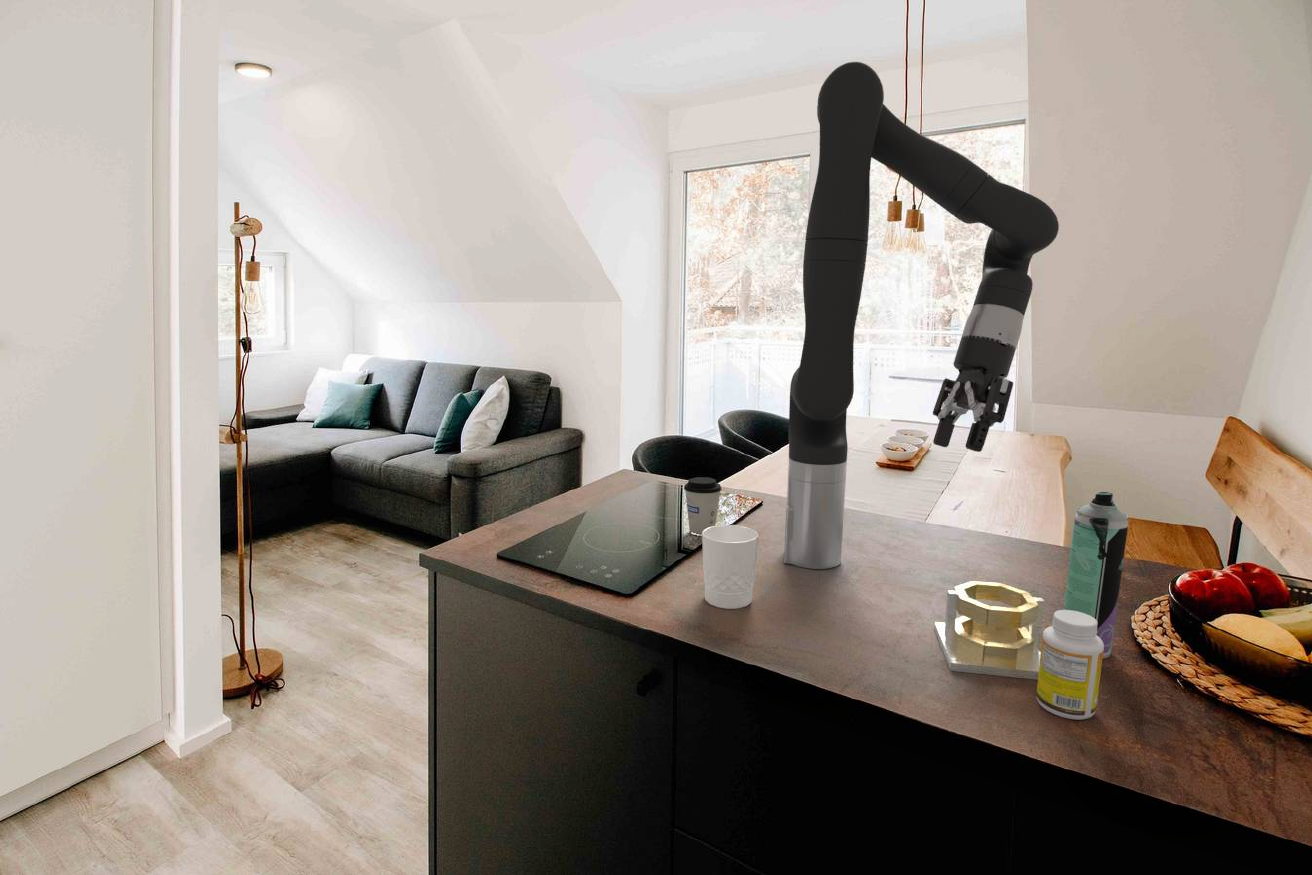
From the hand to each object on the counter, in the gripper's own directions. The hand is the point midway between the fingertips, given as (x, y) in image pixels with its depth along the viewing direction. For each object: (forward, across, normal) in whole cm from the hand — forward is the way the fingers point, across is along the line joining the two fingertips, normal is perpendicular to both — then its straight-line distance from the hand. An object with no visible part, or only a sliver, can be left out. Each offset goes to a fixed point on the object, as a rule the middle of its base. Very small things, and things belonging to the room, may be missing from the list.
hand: (955, 448), depth 103 cm
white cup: (+31, -2, -26) cm, 40 cm away
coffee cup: (+26, -32, -24) cm, 48 cm away
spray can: (+21, +18, +14) cm, 31 cm away
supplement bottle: (+26, +29, +3) cm, 39 cm away
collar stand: (+24, +17, +2) cm, 30 cm away
